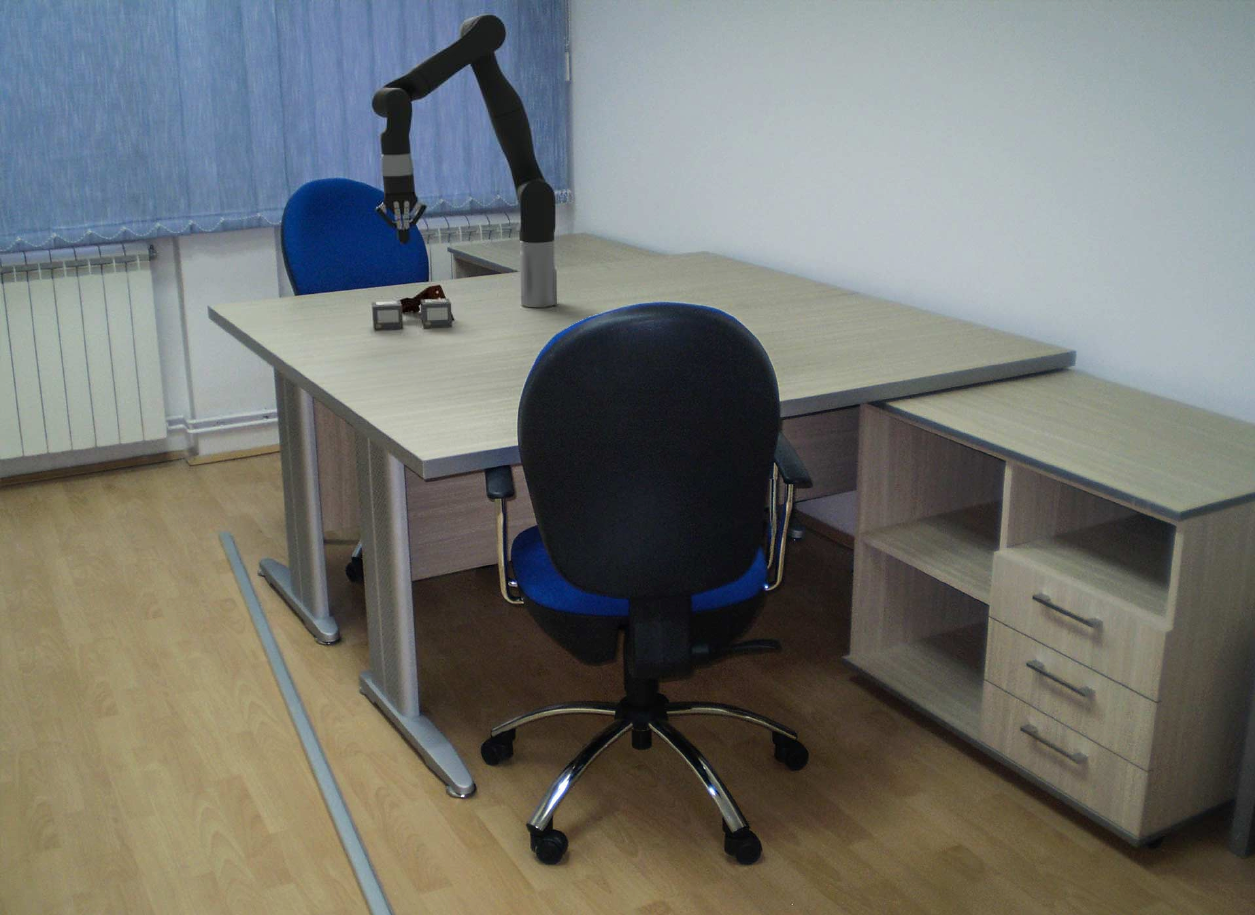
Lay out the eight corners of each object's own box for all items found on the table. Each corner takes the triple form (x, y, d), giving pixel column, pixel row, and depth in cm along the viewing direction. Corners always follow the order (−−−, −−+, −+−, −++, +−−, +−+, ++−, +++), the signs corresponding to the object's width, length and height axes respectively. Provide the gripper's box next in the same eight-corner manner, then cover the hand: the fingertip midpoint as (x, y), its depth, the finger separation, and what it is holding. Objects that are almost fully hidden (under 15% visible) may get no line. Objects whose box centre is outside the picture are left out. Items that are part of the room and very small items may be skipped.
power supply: (401, 324, 319) (400, 300, 317) (403, 329, 313) (401, 304, 311) (373, 325, 317) (371, 301, 315) (374, 331, 311) (372, 306, 309)
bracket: (423, 326, 316) (408, 289, 317) (393, 347, 326) (378, 311, 327) (455, 320, 324) (440, 283, 324) (424, 340, 334) (411, 304, 334)
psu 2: (449, 321, 321) (448, 297, 319) (452, 327, 315) (451, 302, 314) (421, 323, 320) (420, 299, 318) (423, 328, 314) (422, 303, 312)
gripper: (423, 169, 316) (429, 239, 321) (369, 173, 312) (376, 243, 318) (426, 172, 309) (432, 244, 314) (371, 176, 306) (378, 248, 311)
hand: (404, 243), depth 316 cm, fingers closed
